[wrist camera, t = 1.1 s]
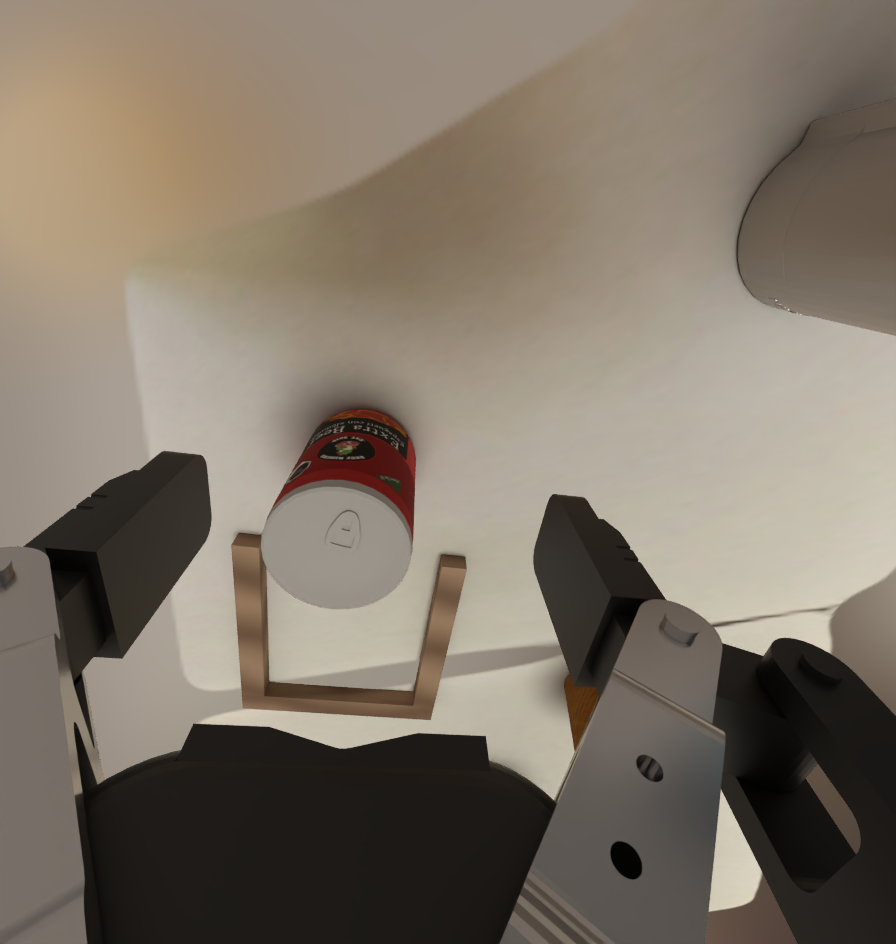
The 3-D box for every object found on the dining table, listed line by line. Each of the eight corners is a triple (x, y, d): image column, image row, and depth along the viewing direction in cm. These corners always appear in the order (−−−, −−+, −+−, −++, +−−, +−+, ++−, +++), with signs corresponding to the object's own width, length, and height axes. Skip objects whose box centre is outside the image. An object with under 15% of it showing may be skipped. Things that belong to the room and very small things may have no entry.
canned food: (418, 407, 31) (415, 489, 21) (414, 505, 35) (410, 613, 25) (304, 401, 30) (248, 482, 21) (312, 502, 34) (268, 610, 25)
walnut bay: (238, 533, 35) (231, 545, 34) (465, 557, 37) (466, 569, 36) (248, 693, 44) (243, 708, 43) (430, 705, 46) (430, 719, 45)
